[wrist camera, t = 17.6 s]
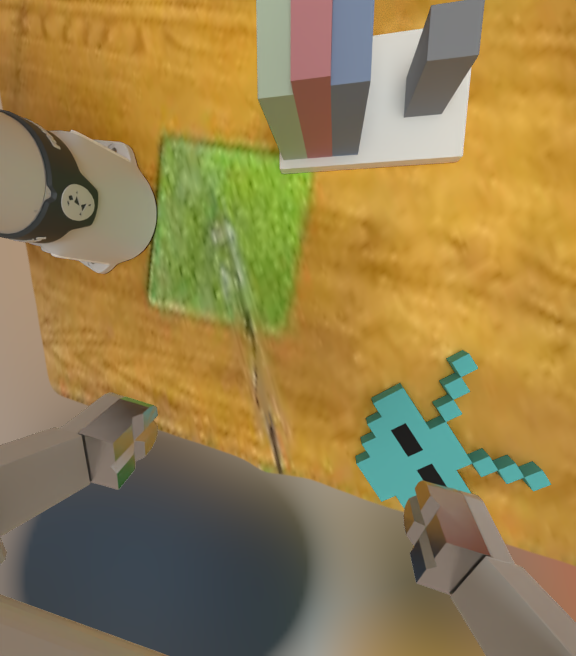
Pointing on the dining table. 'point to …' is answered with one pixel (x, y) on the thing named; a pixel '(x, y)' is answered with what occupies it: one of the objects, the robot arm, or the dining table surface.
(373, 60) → the shelf board
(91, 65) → the dining table surface
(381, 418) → the alien figure
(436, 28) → the bookend block
